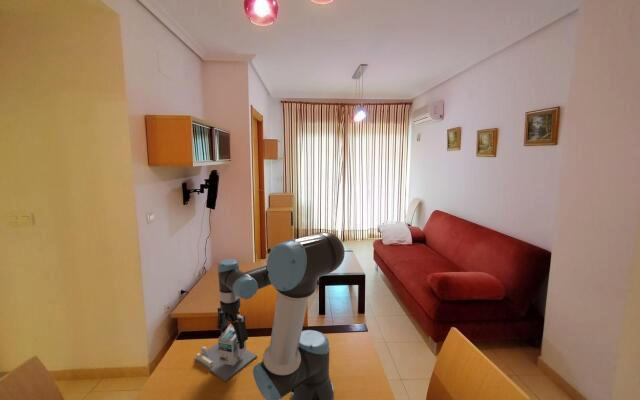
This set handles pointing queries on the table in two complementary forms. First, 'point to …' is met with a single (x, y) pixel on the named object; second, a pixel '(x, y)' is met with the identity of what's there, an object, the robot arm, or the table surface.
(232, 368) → the grey base plate
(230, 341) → the light bulb box
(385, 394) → the table surface
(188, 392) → the table surface
